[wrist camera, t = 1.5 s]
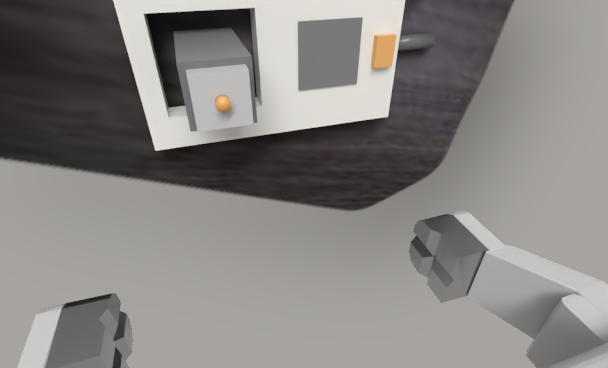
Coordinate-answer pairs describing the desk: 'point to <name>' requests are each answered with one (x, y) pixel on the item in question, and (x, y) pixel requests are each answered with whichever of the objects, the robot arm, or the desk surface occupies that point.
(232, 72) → the drawer
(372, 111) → the white flat block
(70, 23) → the desk surface
